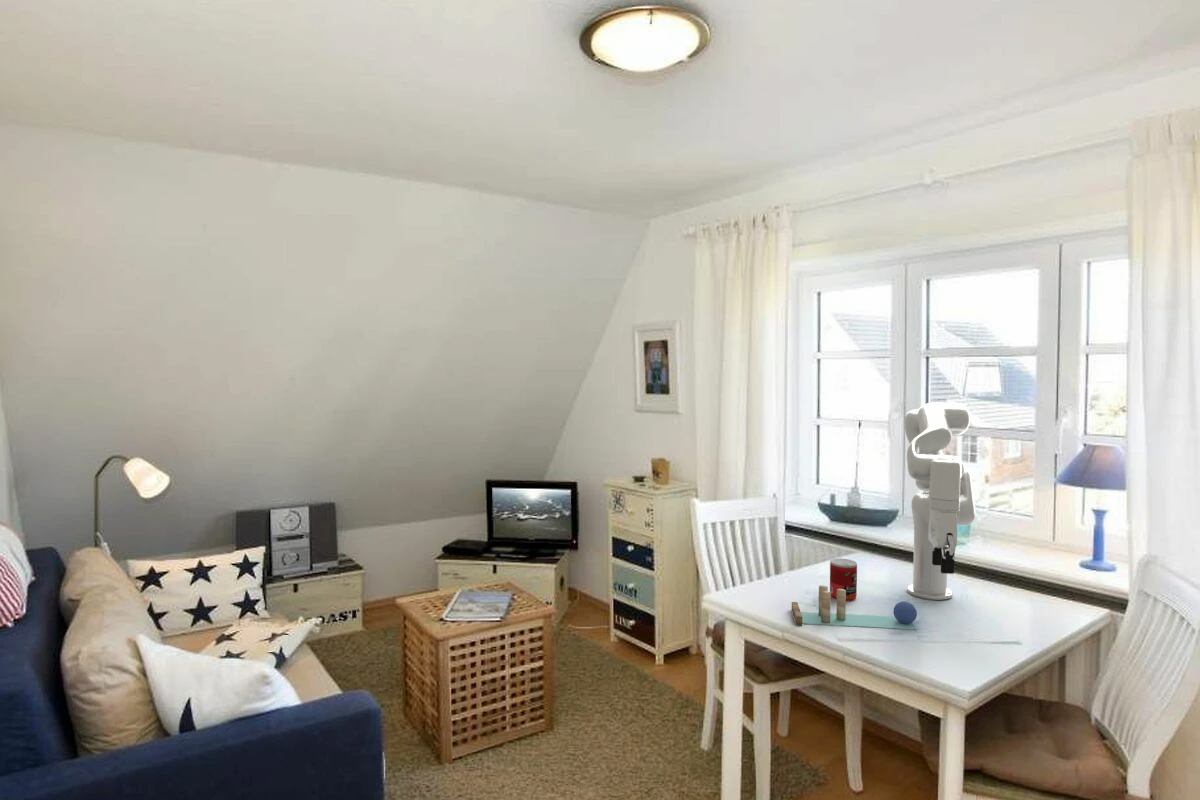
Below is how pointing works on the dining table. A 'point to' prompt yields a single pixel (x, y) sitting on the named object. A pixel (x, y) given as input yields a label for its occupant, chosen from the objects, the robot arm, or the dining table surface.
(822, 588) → the pin
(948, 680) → the dining table surface
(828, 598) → the pin
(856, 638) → the dining table surface
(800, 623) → the block
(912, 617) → the ball
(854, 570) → the canned food
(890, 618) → the panel
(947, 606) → the dining table surface
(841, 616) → the pin front
